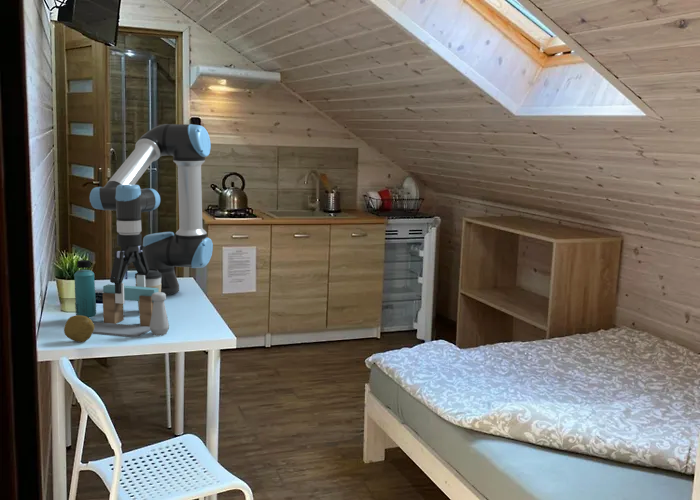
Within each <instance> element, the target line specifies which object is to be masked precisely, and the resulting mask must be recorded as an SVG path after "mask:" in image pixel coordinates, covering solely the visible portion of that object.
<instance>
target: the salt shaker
mask: <svg viewBox="0 0 700 500" xmlns="http://www.w3.org/2000/svg"><path fill="white" fill-rule="evenodd" d="M166 300H167V295H166V294H165V293H163V292H156V293H153V294H152V301H154V304H153V310H152V316H151V321H150V330H151V331H150V332H151V334H152V335H153V336H158V337H159V336H160V335H161V336H165V335H167V333H168V330H169V328H170V325H169V320H168V314H167V309H166V304H165V301H166Z"/></svg>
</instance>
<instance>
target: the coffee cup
mask: <svg viewBox="0 0 700 500" xmlns="http://www.w3.org/2000/svg"><path fill="white" fill-rule="evenodd" d="M137 275H139V274H138V272H137V271H136V273H135V274H134V278H135V286H136V287H137ZM161 277H162V274H161V273H160V272H159V271H158V270H157V269H155V268H149V274H148V275H145V286H146V287H149V288H158V289H159V292H161ZM137 308H138V309H137V310H138V313H139V314H140V305H139V301H137Z"/></svg>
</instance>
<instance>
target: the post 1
mask: <svg viewBox="0 0 700 500" xmlns="http://www.w3.org/2000/svg"><path fill="white" fill-rule="evenodd" d="M102 311H103V312H102V315H103V323H113V324H120V322H123V321H124V320H125V319H124V318H125V317H124V314H125V313H124V304H120V303H115V293H102Z"/></svg>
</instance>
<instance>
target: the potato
mask: <svg viewBox="0 0 700 500" xmlns="http://www.w3.org/2000/svg"><path fill="white" fill-rule="evenodd" d="M93 330H94V322H93V320H92V319H91V317H90V318H88V317H86V316H81V315H76V314H75V315H72V316H70V317H69V318H68V319H67V321H66V322H65V324H64V328H63V333H64V336H66V337H67V338H68V339H69V340H72V341H74V342H77V343H85V342H86V341H88V340H89V339H91V337H92V335H93V334H94V333H93Z"/></svg>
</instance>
